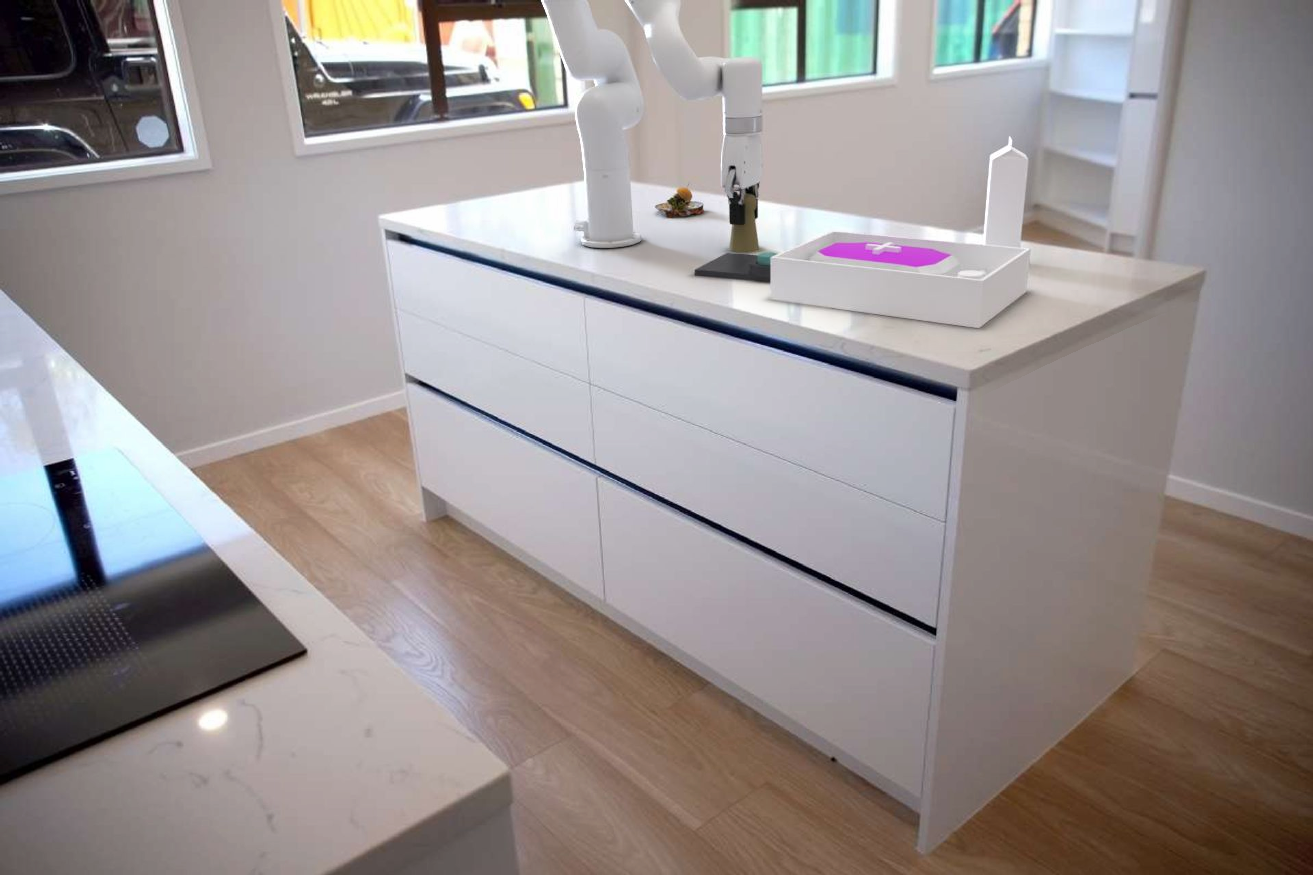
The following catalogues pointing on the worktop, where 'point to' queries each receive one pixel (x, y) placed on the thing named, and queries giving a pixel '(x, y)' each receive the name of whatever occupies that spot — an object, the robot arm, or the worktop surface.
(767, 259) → the button
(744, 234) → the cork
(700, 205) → the multicoloured piece
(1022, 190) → the milk
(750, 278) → the scale
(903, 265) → the white tray with pad
